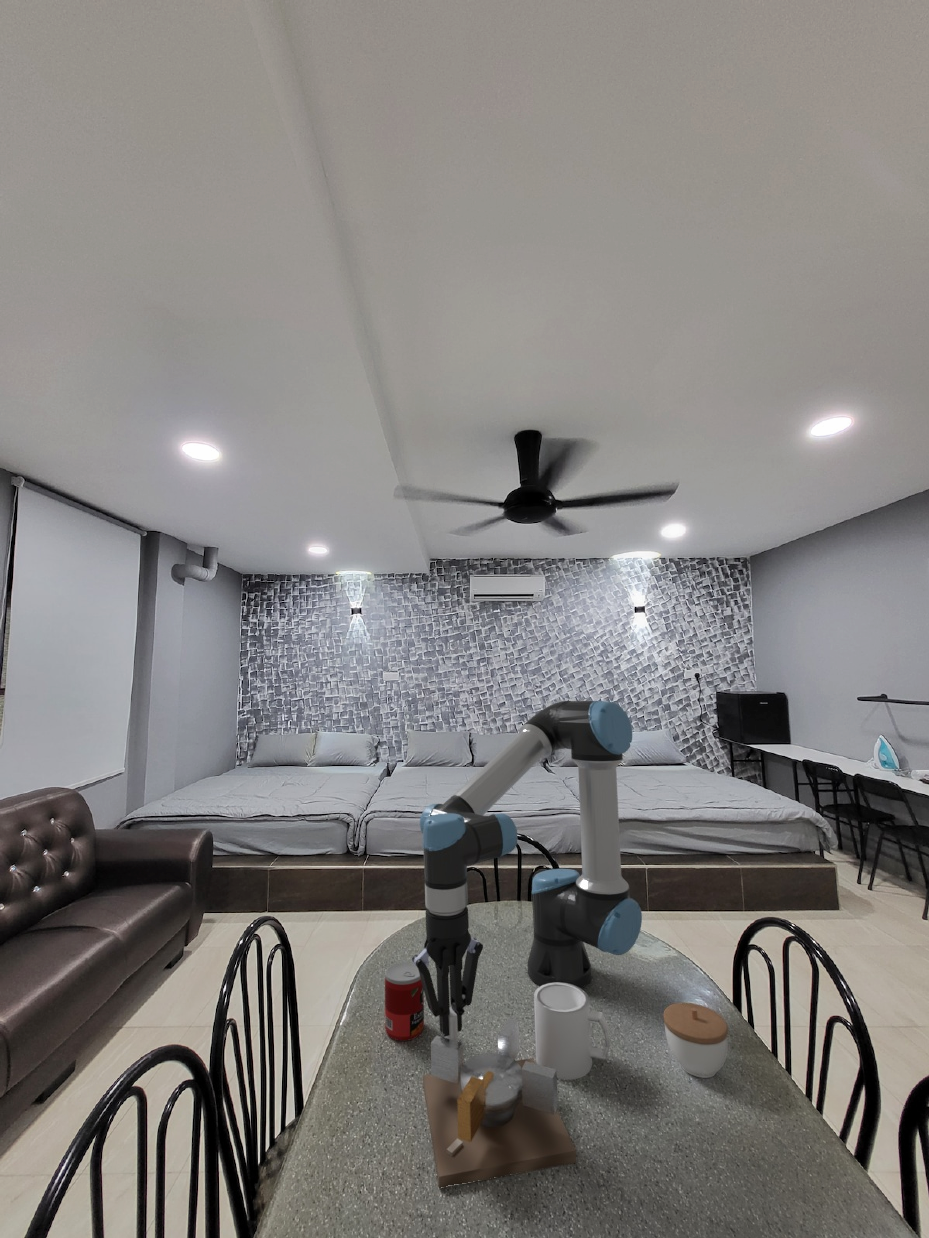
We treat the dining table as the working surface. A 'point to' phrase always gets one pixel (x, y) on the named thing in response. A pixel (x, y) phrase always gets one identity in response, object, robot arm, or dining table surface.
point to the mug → (566, 1030)
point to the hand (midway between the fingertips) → (451, 1052)
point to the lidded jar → (696, 1038)
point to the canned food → (403, 1001)
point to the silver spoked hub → (493, 1079)
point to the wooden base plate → (492, 1138)
